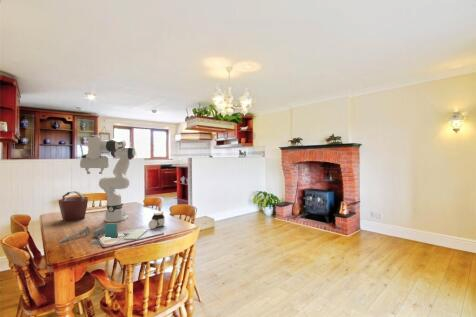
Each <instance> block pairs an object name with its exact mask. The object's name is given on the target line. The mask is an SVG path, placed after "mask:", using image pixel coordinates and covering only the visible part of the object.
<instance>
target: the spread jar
mask: <svg viewBox="0 0 476 317" xmlns="http://www.w3.org/2000/svg"><path fill="white" fill-rule="evenodd" d="M165 218H166V217H165V215H164V214H163V211H154V212H153V215H152V217H151V220H150V221H149V222H148V228H149V229H152V230H154V229H156V228H157V229H158V228H162V227H163V226H165V224H166V223H165V221H166V219H165Z"/></svg>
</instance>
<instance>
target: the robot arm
mask: <svg viewBox="0 0 476 317" xmlns="http://www.w3.org/2000/svg"><path fill="white" fill-rule="evenodd" d="M126 145H127V142H126V141H125V139H123V138H119V137H118V138H111V139H101V136H100V135H98V134H92V135H89V136H88V138H87V149H88V150H87V153H86V154H81V156H80V158H81V159H80V163H79V166H80V169H84V170H85V171H86V175H90V174H91V171H89V170H90V169H100V171H99V172H98V173H99V175H103V172H104V170H105V169H108V168H109V157H108V156H106V155H102V153H110V154H111V157H113V158H115V159H116V158H118V159H119V160H118V161H117V162H116V164H115V165H114V168H113V170H112V174H113V175H114V176H107V177H102V178H100V179H99V181H98V186H99V187H100V189H102V190H103V191H104V193H105V195H106V201H107V205H106V210H105V214H104V215H105V216H104V219H103V221H105V222H106V223H118V222H120V221H125V220H127V219H128V218H129V216H130V215H128V214H127V210H125V209H124V207H123V206H124V203H122V195H121V194H120V193H118V192H117V190H124V189H127V188H128V187H130V179H129V178H128V177H127V176H126V175H127V172H128V169H129V167H130V160H133V158H134V157H135V156H136V149H135V147H132V146H126Z"/></svg>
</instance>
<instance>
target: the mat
mask: <svg viewBox="0 0 476 317" xmlns="http://www.w3.org/2000/svg"><path fill="white" fill-rule="evenodd" d="M122 233H123V232H122ZM123 234H124V235H125V237H127V236H128V235H129V233H126V232H125V233H123ZM98 239H99V238H97V239H95V240H94V241H92V242H91V243H89V245H90V246H91V245H92V246H93V245H94V246H98V245H101V243H100V241H99V240H98ZM113 245H115V244H113ZM113 245H112V246H113Z"/></svg>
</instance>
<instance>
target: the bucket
mask: <svg viewBox="0 0 476 317" xmlns="http://www.w3.org/2000/svg"><path fill="white" fill-rule="evenodd" d="M71 193H75V194H77V195H78V196H71V197H66V196H69V195H70V194H71ZM88 202H89V196H84V195H83V194H82V193H81V192H79V191H68V192H66V193H65V194H64V195H62V196H61V199H58V207H59V211H60V214H61V218H62V221H64V220H65V221H64V222H77V221H80V220H84V219H85V218H86V212H87V207H88Z"/></svg>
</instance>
